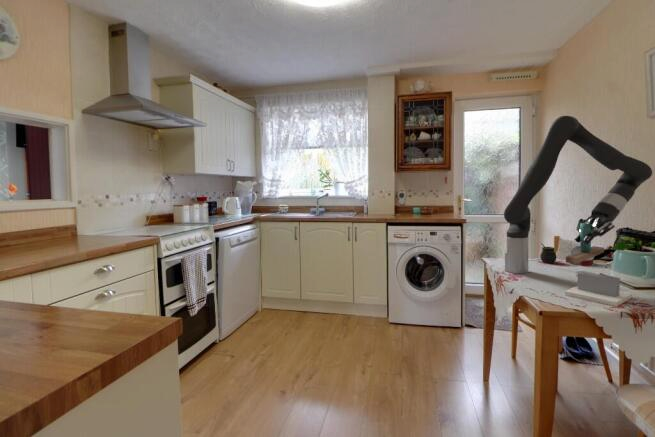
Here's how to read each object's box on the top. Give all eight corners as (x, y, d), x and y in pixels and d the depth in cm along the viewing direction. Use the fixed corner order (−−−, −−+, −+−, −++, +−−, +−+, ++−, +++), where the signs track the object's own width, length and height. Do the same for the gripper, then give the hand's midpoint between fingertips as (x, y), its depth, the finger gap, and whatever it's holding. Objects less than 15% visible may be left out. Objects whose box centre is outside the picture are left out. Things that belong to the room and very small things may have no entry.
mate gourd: (552, 264, 173) (552, 245, 172) (537, 262, 180) (536, 244, 179) (559, 262, 177) (559, 243, 176) (543, 260, 183) (543, 242, 182)
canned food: (589, 271, 174) (601, 255, 170) (585, 273, 167) (597, 257, 163) (566, 258, 181) (577, 243, 177) (561, 260, 174) (573, 244, 170)
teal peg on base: (565, 262, 126) (565, 227, 125) (593, 251, 138) (593, 219, 137) (576, 263, 123) (576, 228, 122) (604, 252, 135) (604, 220, 134)
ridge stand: (564, 294, 131) (565, 274, 130) (581, 287, 138) (581, 268, 137) (616, 306, 117) (617, 283, 116) (632, 297, 124) (632, 276, 124)
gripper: (586, 200, 136) (559, 233, 136) (620, 202, 122) (590, 238, 122) (598, 212, 137) (571, 245, 137) (633, 215, 124) (603, 251, 123)
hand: (580, 241), depth 130 cm, fingers closed on teal peg on base, 3 cm apart
